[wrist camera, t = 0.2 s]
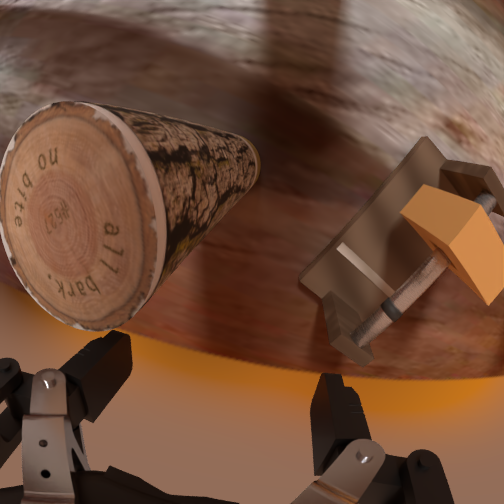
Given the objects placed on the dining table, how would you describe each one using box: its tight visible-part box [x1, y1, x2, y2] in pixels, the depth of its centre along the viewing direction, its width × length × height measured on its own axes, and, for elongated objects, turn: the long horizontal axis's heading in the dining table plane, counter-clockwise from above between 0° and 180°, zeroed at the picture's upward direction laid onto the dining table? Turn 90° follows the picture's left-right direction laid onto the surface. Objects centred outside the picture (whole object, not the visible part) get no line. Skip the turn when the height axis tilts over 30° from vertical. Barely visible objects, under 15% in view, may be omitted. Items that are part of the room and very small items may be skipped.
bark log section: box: [0, 101, 261, 331], centre depth 18 cm, size 7×7×25 cm
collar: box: [400, 184, 504, 306], centre depth 20 cm, size 4×8×10 cm, turn 51°
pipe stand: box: [299, 136, 504, 367], centre depth 25 cm, size 22×12×10 cm, turn 141°
